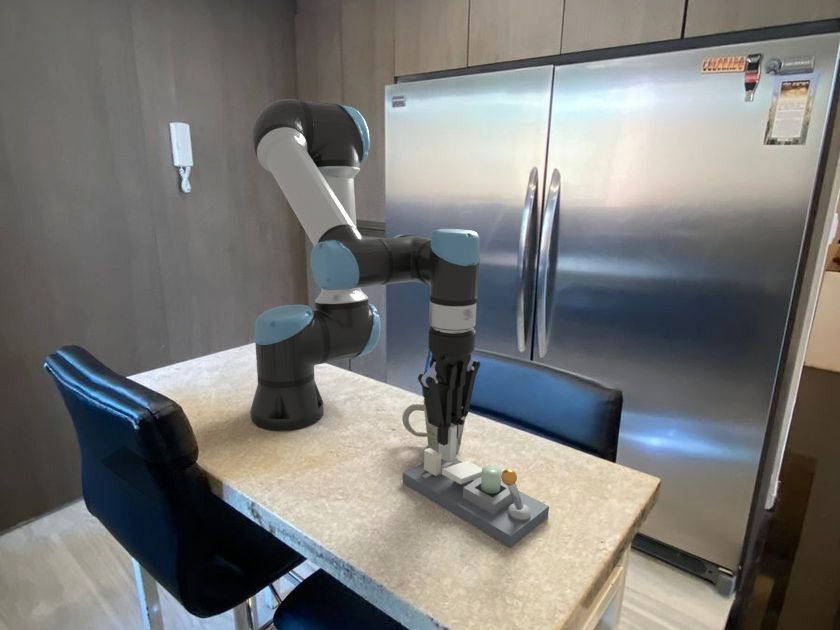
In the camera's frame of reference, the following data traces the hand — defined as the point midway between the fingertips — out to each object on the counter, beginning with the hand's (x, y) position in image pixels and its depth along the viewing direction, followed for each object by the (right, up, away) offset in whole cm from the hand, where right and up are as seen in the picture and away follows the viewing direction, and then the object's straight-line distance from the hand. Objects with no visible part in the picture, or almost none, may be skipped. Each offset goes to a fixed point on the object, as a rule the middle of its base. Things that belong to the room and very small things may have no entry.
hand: (446, 458), depth 89 cm
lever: (+10, -4, -12) cm, 17 cm away
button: (+6, -2, -9) cm, 11 cm away
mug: (-2, -1, +11) cm, 11 cm away
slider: (-3, -2, -2) cm, 4 cm away
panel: (+4, -5, -6) cm, 8 cm away
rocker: (+2, -2, -5) cm, 6 cm away
